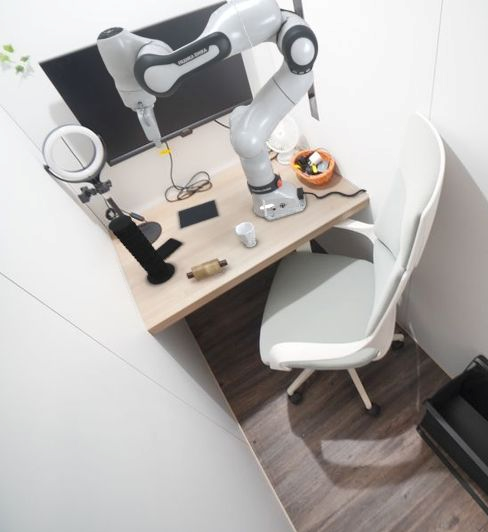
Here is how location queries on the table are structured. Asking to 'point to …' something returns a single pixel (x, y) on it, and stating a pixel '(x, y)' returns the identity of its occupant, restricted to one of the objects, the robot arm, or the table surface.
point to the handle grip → (141, 249)
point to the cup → (246, 233)
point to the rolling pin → (207, 269)
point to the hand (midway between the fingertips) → (157, 139)
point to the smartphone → (168, 247)
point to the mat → (197, 213)
